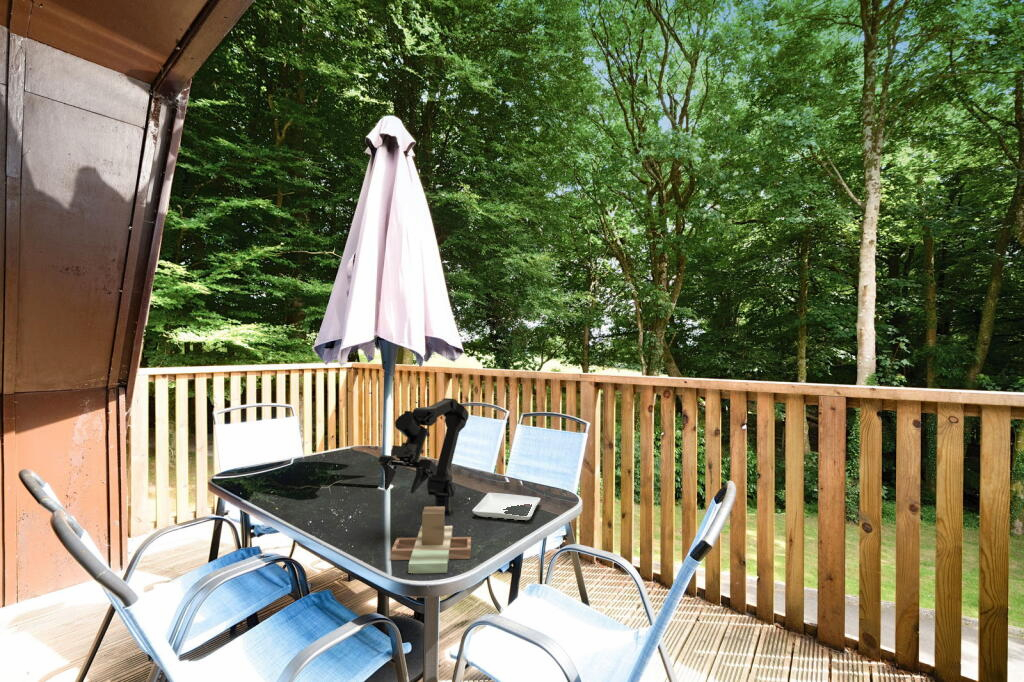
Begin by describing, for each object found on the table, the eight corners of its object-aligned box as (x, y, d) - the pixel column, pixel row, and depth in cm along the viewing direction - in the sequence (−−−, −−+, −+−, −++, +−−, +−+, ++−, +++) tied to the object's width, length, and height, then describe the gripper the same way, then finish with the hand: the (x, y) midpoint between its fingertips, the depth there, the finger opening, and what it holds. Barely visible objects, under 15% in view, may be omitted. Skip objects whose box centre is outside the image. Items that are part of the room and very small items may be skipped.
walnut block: (424, 536, 138) (424, 506, 138) (444, 536, 139) (444, 506, 139) (421, 545, 132) (422, 513, 132) (442, 544, 133) (443, 513, 133)
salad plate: (530, 526, 156) (530, 515, 156) (470, 519, 161) (471, 509, 161) (541, 505, 176) (541, 496, 176) (488, 500, 181) (488, 492, 181)
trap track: (401, 534, 146) (401, 526, 146) (471, 533, 148) (471, 525, 148) (385, 574, 120) (385, 564, 120) (469, 572, 122) (469, 562, 122)
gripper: (378, 430, 146) (359, 479, 137) (430, 435, 140) (413, 486, 131) (394, 445, 155) (377, 491, 146) (444, 450, 148) (429, 498, 140)
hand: (398, 491), depth 141 cm, fingers open, 9 cm apart
